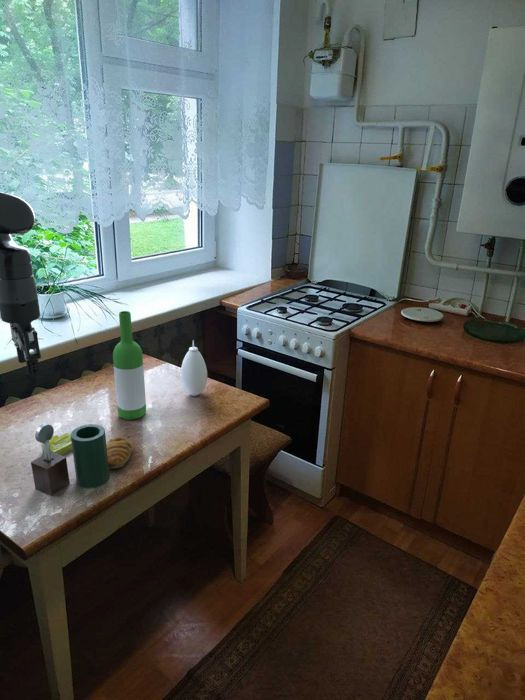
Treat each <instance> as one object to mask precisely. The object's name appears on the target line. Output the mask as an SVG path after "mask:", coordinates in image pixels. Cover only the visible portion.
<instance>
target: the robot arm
mask: <svg viewBox="0 0 525 700" xmlns="http://www.w3.org/2000/svg"><path fill="white" fill-rule="evenodd" d="M35 223H36V215H35V212H34V210H33V208H32V206H31V205H30V204H29V203H28V201H26V200H25V199H23V198H21V197H19V196H16V195H13V194H10V193H6V192H3V191H0V320H1V321H2V322H4V323H6V324H9V328H10V333H11V340H12V342H13V345H14V347H15V349H16V355H17V361H18V363H19V364H23V363H26V370H27V375H28V376H29V377H35V376H39V375H40V373H41V370H40V365H39V360H40V359H42V355H41V350H40V344H39V343H40V342H39V338H38V335H39V334H38V332H37V330H36V329H35V326H34V327H33V326H32V323H33V322H34V321H37V320H38V319H39V318H40V317H41V310H40V303H39V295H38V288H37V283H36V279H35V277H34V269H33V262H32V256H31V252H30V250H29V248H27V247H26V246H23V245H21V244H18V243H17V242H15V241H14V239H13V238H12V236H13V235H14V236H21V235H26V234H27V233H29V232H30V231H32V229H33V228H34V226H35ZM31 350H33V353H31V352H30V351H31Z"/></svg>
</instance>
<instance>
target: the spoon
mask: <svg viewBox="0 0 525 700" xmlns="http://www.w3.org/2000/svg"><path fill="white" fill-rule="evenodd" d="M54 432H55V429H54V427H53V426H52V425H51V424H49V423H42V424H40V426H38V427H37V428H36V431H35V435H34V438H35V441H36V442H38V443H41V444H43V447H44V451H43V453H44V454H45V459H46V462H50V461H52V458H51V451H50V445H49V441H50V439H51V438H52V437H53V436H54Z"/></svg>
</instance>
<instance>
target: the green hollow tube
mask: <svg viewBox="0 0 525 700" xmlns="http://www.w3.org/2000/svg"><path fill="white" fill-rule="evenodd" d="M70 435H71V442H72V449H73V450H72V457H73V464H74V471H75V479H76V483H77V485H78V486H79V487H81V488H85V489H93V488H97V487H100V486H103V485H104V484H106V483H107V482H108V481H109V479H110V469H109V466H108V456H107V446H106V445H107V438H106V437H107V436H106V428H105V427H104V426H102V425H100V424H95V423H89V424H83V425H80V426H78V427H75V428H74V429H73V430H72V431H71V432H70Z"/></svg>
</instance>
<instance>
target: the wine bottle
mask: <svg viewBox="0 0 525 700" xmlns="http://www.w3.org/2000/svg"><path fill="white" fill-rule="evenodd" d="M118 318H119V319H118V321H119V333H120V334H119V335H120V341H119V342H118V343H117V344H116V345H115V347H114V349H113V352H112V362H113V372H114V375H113V376H114V384H115V385H114V387H115V396H116V408H117V414H118V416H119V417H120V418H121V419H124V420H129V421H132V420H133V421H134V420H137V419H141V418H142V417H144V415H146V412H147V411H146V410H147V399H146V384H145V383H146V382H145V370H144V369H145V368H144V355H143V350H142V348H141V346H140V345H139V344H138V343H137V342H136V341H134V339H133V328H132V314H131V312H130V311H128V310H122V311H120V312H119V313H118Z"/></svg>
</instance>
